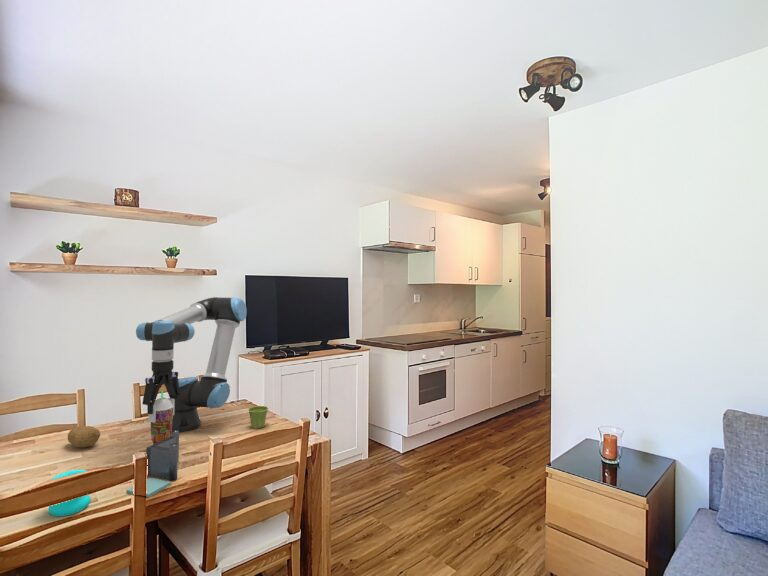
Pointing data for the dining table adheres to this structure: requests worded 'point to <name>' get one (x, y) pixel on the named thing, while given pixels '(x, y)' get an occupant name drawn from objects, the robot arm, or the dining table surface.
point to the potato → (83, 436)
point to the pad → (153, 486)
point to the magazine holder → (164, 457)
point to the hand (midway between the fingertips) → (161, 418)
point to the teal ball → (71, 505)
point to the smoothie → (162, 420)
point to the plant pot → (258, 416)
